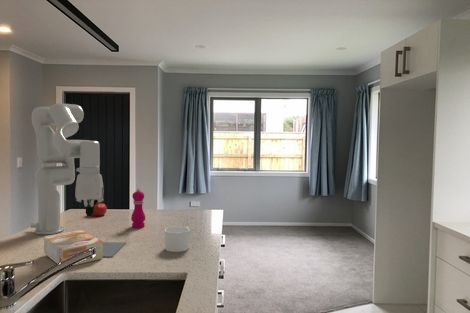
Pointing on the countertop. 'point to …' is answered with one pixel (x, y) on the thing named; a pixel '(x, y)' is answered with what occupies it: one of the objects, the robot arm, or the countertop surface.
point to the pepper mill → (138, 210)
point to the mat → (111, 248)
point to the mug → (177, 239)
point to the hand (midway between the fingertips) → (90, 215)
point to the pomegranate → (99, 209)
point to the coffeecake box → (71, 245)
